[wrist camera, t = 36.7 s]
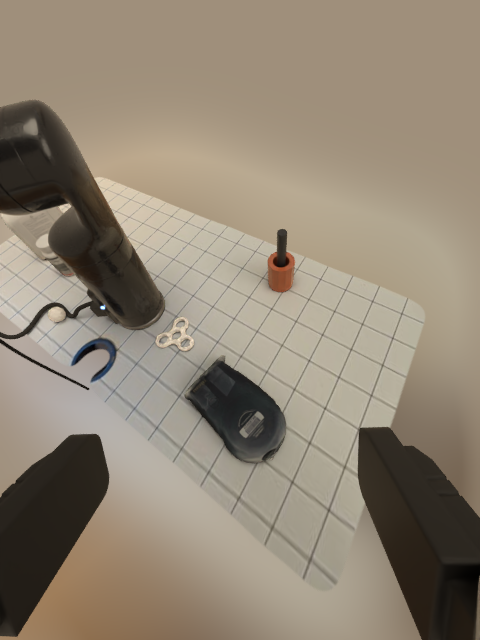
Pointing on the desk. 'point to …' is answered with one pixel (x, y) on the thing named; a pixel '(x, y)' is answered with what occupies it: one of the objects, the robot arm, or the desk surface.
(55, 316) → the polyhedron
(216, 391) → the electronic device
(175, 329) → the fidget spinner
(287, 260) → the pen holder
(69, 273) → the pill bottle
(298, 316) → the desk surface
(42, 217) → the photo printer
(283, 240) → the dark grey rod
